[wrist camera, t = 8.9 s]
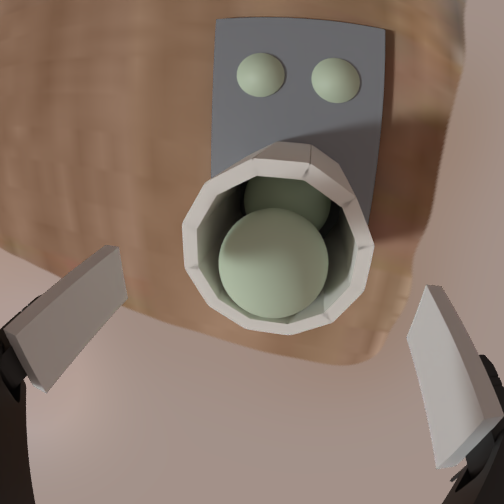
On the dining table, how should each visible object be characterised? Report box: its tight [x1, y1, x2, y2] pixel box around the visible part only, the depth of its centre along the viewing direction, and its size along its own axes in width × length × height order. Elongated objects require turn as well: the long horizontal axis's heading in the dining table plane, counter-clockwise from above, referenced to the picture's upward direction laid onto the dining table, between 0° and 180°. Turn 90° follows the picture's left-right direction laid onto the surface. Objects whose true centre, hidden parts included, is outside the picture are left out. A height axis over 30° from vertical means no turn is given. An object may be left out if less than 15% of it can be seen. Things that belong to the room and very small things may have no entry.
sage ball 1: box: [244, 176, 331, 231], centre depth 21 cm, size 6×6×6 cm
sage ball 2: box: [218, 208, 329, 318], centre depth 17 cm, size 6×6×6 cm
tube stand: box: [182, 17, 385, 335], centre depth 18 cm, size 20×13×11 cm, turn 178°
